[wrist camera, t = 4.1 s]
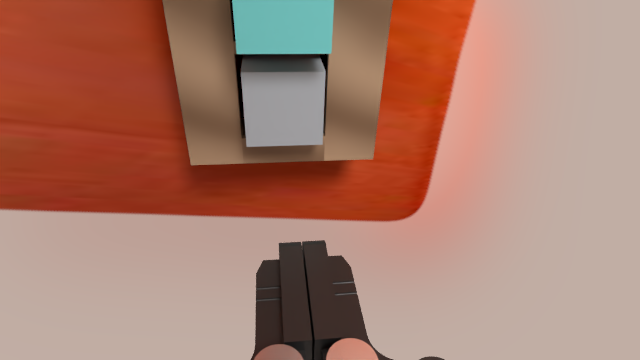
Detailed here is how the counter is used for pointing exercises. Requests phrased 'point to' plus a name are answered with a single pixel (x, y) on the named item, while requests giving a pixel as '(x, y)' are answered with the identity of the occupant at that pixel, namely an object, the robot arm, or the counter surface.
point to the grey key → (283, 99)
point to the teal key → (283, 26)
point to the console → (222, 89)
